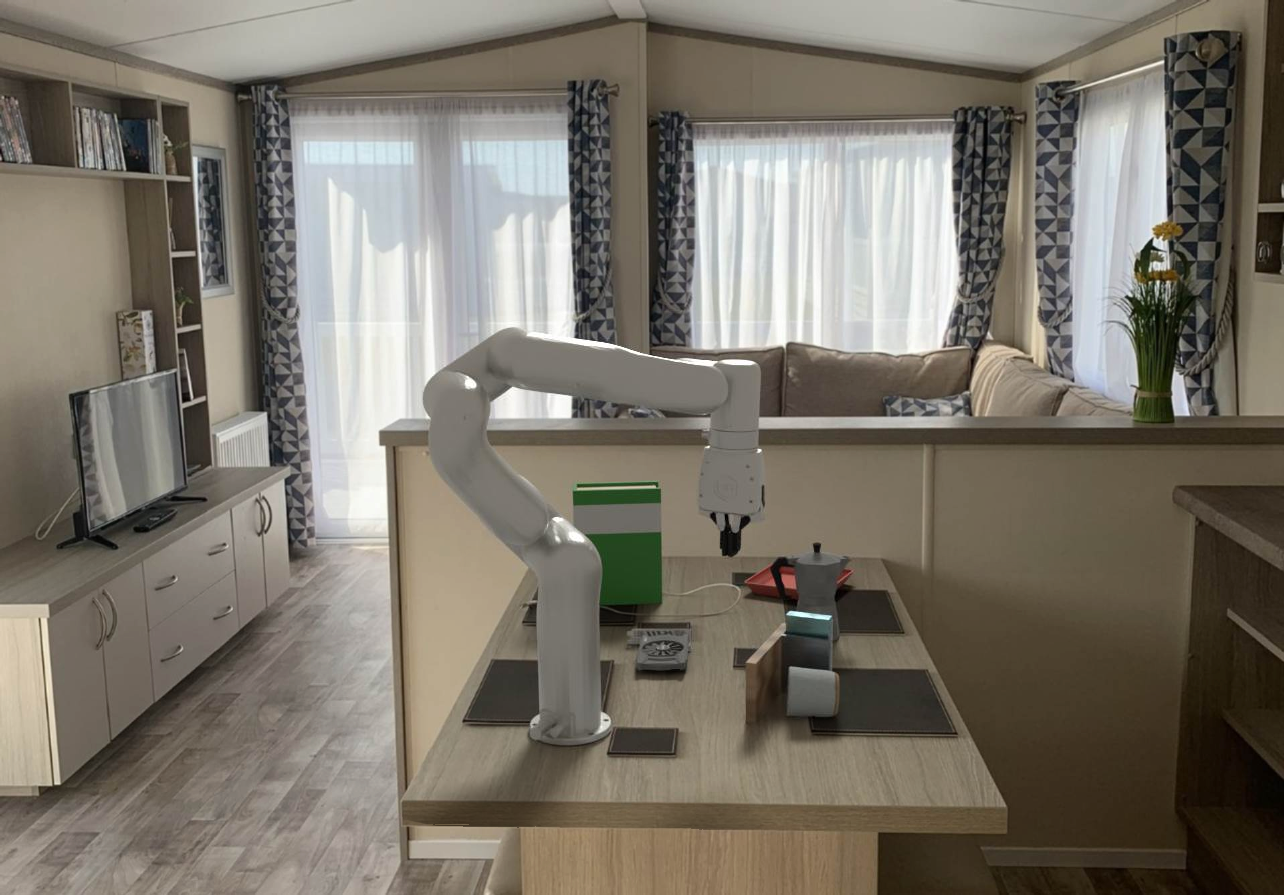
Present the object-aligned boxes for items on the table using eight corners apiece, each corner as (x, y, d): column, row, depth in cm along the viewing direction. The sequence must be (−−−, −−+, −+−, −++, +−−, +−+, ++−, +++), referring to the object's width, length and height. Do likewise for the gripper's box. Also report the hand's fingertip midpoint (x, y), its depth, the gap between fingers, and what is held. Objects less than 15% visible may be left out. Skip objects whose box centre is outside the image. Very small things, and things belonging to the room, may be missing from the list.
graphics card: (627, 627, 230) (692, 626, 229) (628, 646, 231) (692, 645, 230) (619, 660, 214) (689, 659, 213) (620, 680, 214) (689, 680, 213)
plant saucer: (742, 596, 259) (742, 580, 258) (776, 573, 274) (776, 559, 273) (824, 608, 250) (825, 592, 249) (854, 584, 266) (855, 569, 265)
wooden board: (755, 724, 193) (755, 663, 191) (745, 723, 193) (745, 662, 192) (791, 680, 211) (791, 623, 209) (782, 678, 211) (782, 622, 210)
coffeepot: (841, 625, 239) (843, 534, 235) (857, 641, 229) (859, 547, 226) (763, 630, 236) (764, 538, 233) (776, 646, 227) (777, 551, 224)
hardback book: (659, 592, 261) (657, 480, 256) (662, 603, 254) (660, 488, 249) (575, 595, 260) (572, 483, 255) (575, 606, 252) (572, 490, 248)
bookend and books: (828, 699, 202) (829, 623, 200) (781, 692, 205) (781, 617, 203) (837, 686, 208) (838, 612, 205) (791, 680, 211) (791, 607, 208)
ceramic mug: (840, 724, 192) (840, 677, 191) (786, 723, 193) (787, 676, 192) (835, 699, 203) (836, 654, 202) (785, 698, 204) (785, 653, 202)
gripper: (680, 439, 192) (676, 554, 195) (772, 448, 186) (767, 566, 189) (698, 432, 199) (695, 543, 202) (787, 440, 193) (782, 555, 196)
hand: (729, 554), depth 195 cm, fingers closed
